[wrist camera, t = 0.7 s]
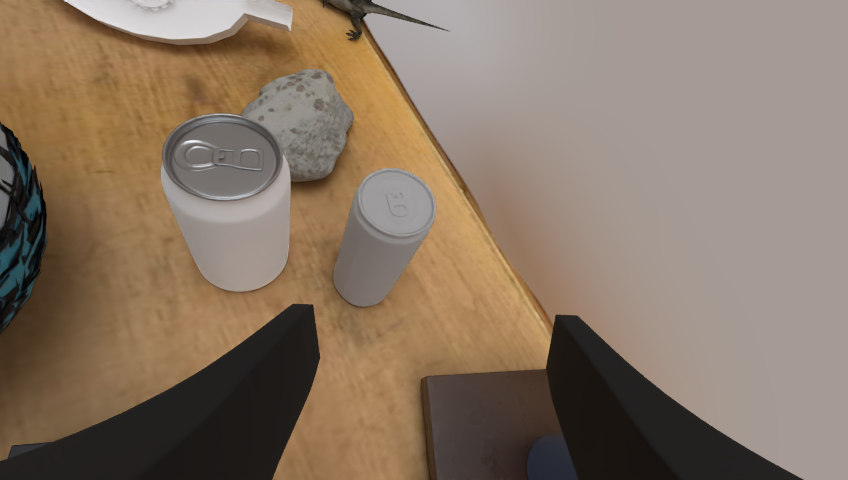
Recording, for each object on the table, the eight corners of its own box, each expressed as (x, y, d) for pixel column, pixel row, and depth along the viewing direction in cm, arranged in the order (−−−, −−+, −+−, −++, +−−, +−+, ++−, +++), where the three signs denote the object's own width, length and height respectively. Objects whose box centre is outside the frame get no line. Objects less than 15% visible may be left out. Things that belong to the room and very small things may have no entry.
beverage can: (384, 250, 34) (426, 164, 24) (397, 303, 32) (448, 234, 22) (327, 257, 33) (347, 166, 22) (337, 314, 31) (364, 243, 21)
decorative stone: (367, 190, 37) (378, 155, 33) (238, 196, 33) (231, 157, 28) (344, 91, 42) (351, 50, 37) (229, 86, 38) (222, 39, 33)
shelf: (604, 583, 28) (625, 591, 26) (440, 626, 24) (452, 639, 22) (554, 372, 34) (568, 367, 32) (418, 380, 30) (426, 376, 28)
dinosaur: (271, 17, 44) (290, -9, 49) (444, 68, 47) (448, 39, 51) (269, -18, 42) (289, -42, 46) (453, 38, 44) (457, 10, 48)
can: (200, 216, 31) (161, 99, 21) (289, 218, 33) (292, 114, 23) (191, 295, 28) (140, 204, 18) (288, 293, 30) (291, 210, 20)
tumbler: (598, 509, 28) (683, 523, 22) (535, 521, 26) (609, 539, 20) (578, 430, 30) (650, 422, 24) (519, 437, 28) (581, 431, 23)
